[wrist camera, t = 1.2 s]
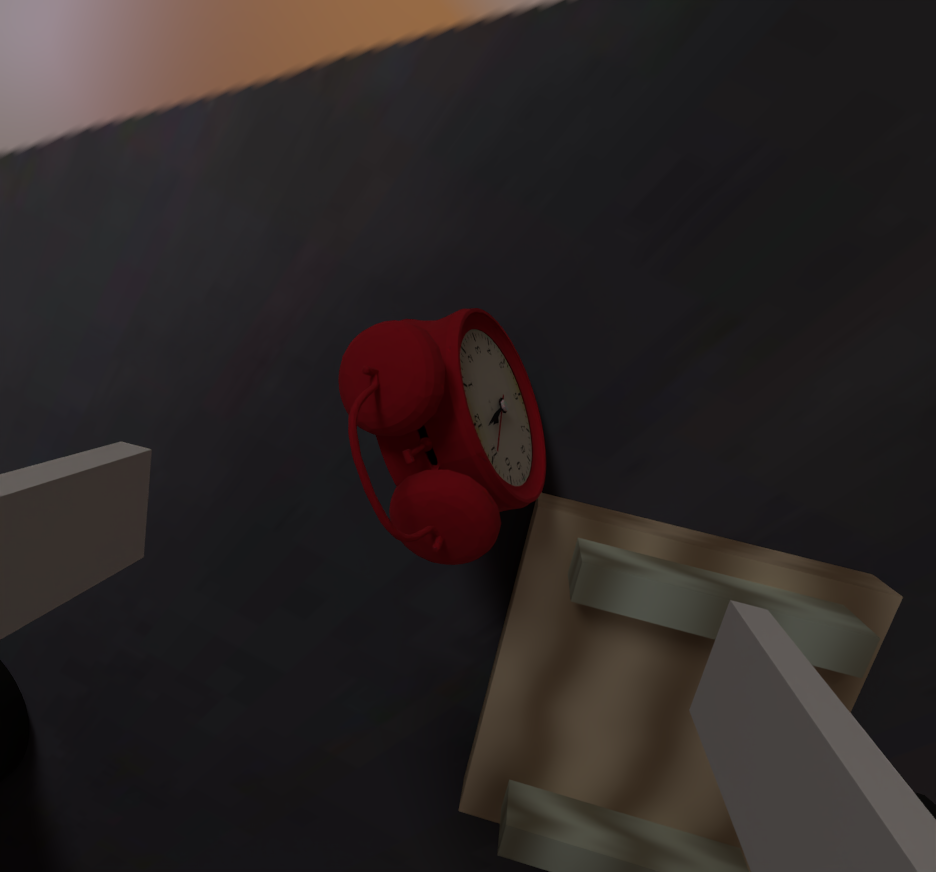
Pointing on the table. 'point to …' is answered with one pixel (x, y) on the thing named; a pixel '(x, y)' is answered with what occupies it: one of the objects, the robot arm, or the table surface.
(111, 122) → the table surface
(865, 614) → the display stand
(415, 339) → the alarm clock
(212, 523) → the table surface
